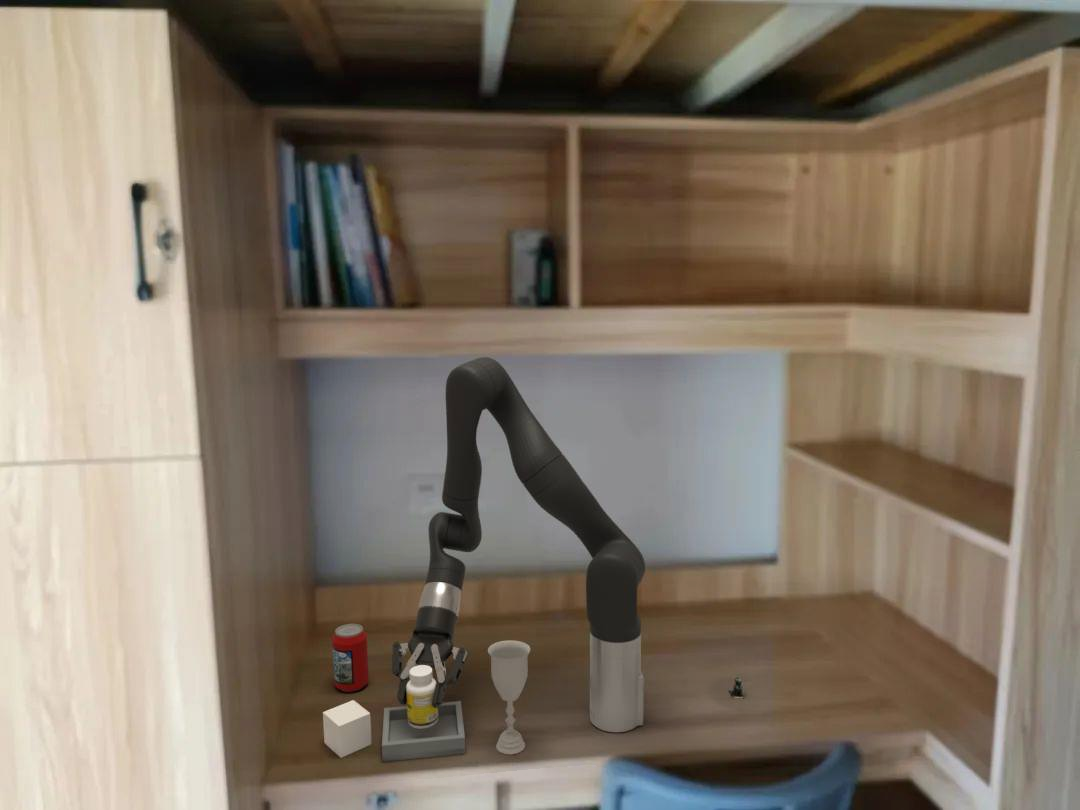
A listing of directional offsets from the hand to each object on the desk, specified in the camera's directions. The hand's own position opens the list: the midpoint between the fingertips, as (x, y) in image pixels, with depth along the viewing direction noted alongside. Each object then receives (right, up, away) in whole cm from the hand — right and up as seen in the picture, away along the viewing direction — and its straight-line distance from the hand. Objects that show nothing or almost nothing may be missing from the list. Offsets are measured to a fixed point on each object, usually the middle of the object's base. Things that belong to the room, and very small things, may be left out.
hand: (418, 704), depth 139 cm
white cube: (-13, -8, +1) cm, 15 cm away
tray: (0, -7, +3) cm, 7 cm away
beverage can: (-17, -4, +21) cm, 27 cm away
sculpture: (+60, -5, +17) cm, 63 cm away
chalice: (+16, -7, 0) cm, 18 cm away
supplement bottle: (0, -4, +3) cm, 5 cm away
